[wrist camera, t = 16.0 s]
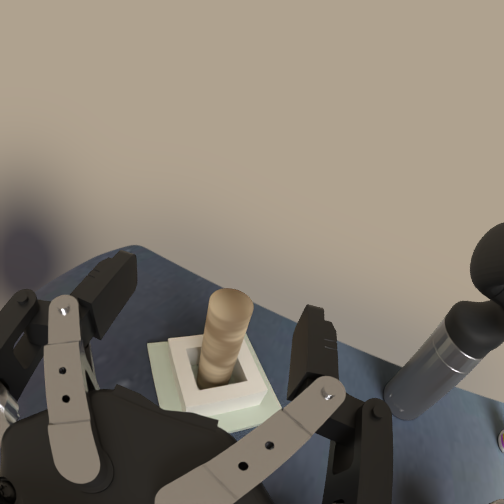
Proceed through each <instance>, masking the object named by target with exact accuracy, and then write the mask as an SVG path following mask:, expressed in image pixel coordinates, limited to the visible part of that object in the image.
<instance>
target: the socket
mask: <svg viewBox="0 0 504 504" xmlns="http://www.w3.org/2000/svg"><path fill="white" fill-rule="evenodd" d="M203 336H204V334H203V335H195V336H186V337H177V338H168V341H167V342H157V343H147V347H148V353H149V359H150V364H151V369H152V374H153V379H154V384H155V389H156V393H157V398H158V402H159V406H160V408H162V409H164V410H171V411H181V412H192V413H196V414H199V415H202V416H206V417H209V418H213V419H217V420H219V422H218V425H217V426H218V427H220V428H222V429H223V430H225V431H226V432H228V433H233V432H237V431H241V430H245V429H249V428H253V427H256V426H259V425H261V424H262V423H263V422H264V421H266V420H267V419H268V418H269V417H271V416H272V415H273V414H274V413H276V412H277V411H278V410H280V409H282V407H281V405H280V403H279V401H278V399H277V397H276V395H275V393H274V391H273V389H272V387H271V385H270V383H269V381H268V379H267V377H266V375H265V373H264V371H263V369H262V366H261V364H260V362H259V360H258V358H257V356H256V354H255V352H254V350H253V347H252V345H251V343H250V341H249V339H248V337H247V335H246V333H245V336H244V339H243V342H242V345H241V348H240V351H239V354H238V357H237V360H236V363H235V366H234V369H233V372H232V375H231V378H230V381H229V383H228V385H225V386H220V387H215V388H209V389H203V390H200V389H199V387H198V385H197V374H198V367H199V361H200V354H201V348H202V342H203Z"/></svg>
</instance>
